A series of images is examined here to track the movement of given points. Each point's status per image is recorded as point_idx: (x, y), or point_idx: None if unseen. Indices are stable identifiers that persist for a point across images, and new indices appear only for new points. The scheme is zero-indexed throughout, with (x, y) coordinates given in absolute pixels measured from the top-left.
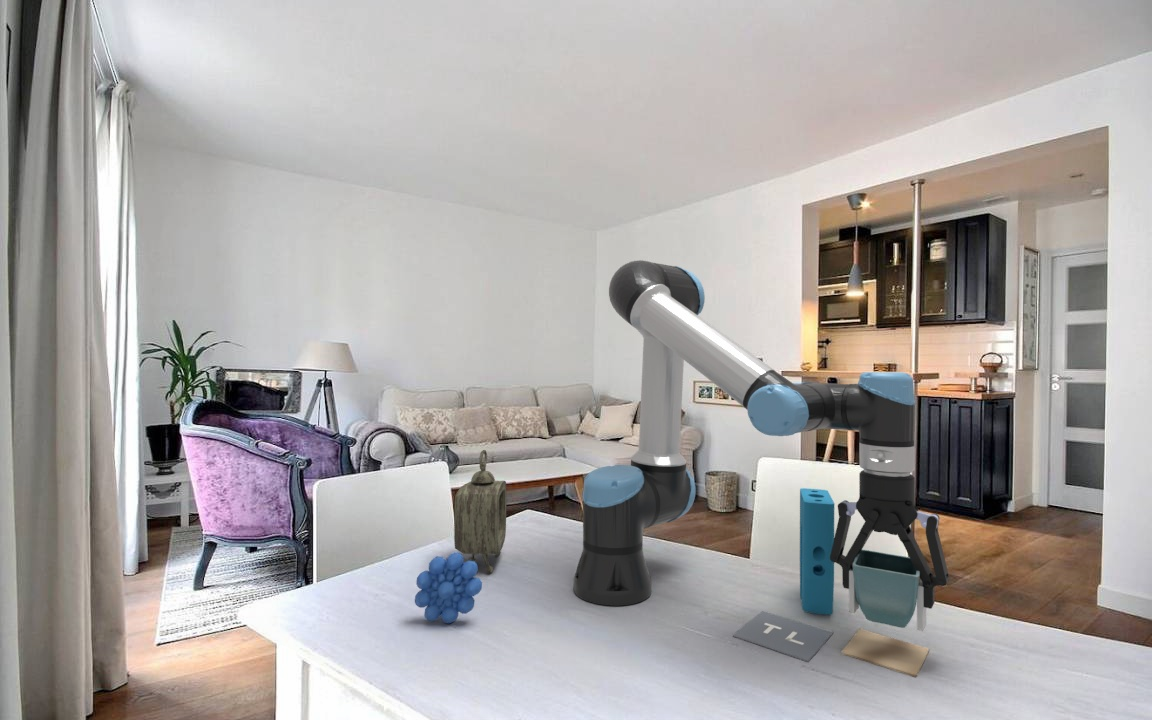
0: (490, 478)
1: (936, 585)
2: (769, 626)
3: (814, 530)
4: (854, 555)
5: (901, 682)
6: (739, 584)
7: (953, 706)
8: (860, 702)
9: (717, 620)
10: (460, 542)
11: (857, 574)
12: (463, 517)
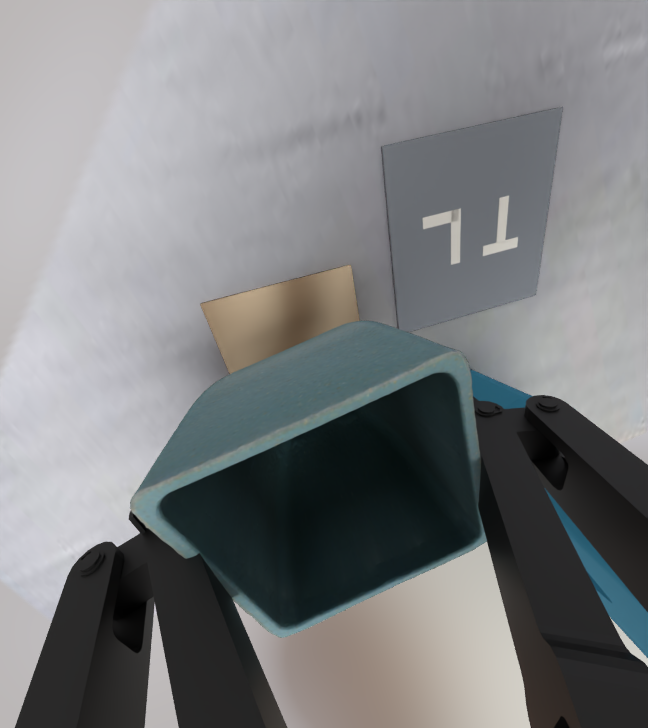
0: None
1: (138, 535)
2: (505, 238)
3: None
4: (491, 461)
5: (204, 252)
6: (596, 362)
7: (75, 246)
8: (192, 35)
9: (606, 162)
10: None
11: (412, 340)
12: None
